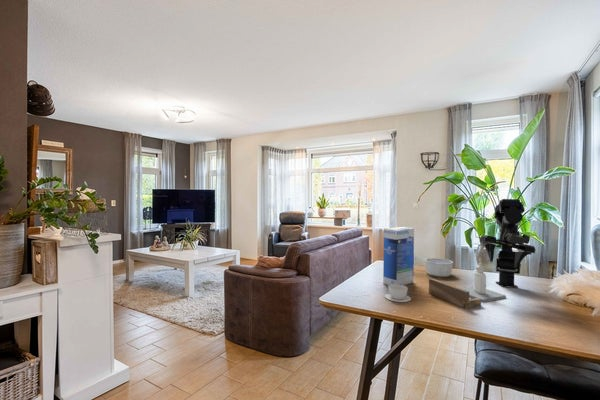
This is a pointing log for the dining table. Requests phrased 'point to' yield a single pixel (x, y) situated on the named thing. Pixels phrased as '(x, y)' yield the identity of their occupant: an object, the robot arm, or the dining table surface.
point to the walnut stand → (452, 294)
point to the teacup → (397, 293)
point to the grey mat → (484, 295)
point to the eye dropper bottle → (479, 280)
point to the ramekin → (438, 267)
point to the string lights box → (398, 256)
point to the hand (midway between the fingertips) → (503, 264)
